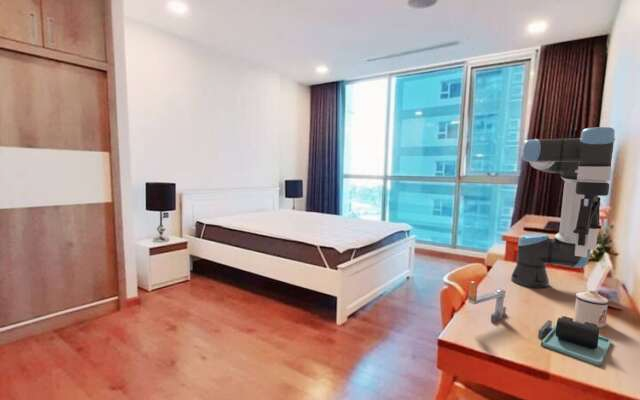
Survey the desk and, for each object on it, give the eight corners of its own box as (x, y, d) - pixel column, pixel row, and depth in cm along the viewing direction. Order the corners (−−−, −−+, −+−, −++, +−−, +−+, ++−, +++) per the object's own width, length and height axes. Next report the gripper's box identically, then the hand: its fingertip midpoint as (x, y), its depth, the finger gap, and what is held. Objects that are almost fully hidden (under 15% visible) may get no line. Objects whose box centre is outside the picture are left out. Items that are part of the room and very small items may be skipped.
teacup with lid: (605, 331, 111) (609, 297, 110) (571, 322, 117) (574, 290, 116) (607, 319, 120) (610, 288, 118) (575, 311, 126) (578, 281, 125)
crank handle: (507, 296, 118) (508, 276, 117) (474, 306, 109) (475, 284, 108) (498, 293, 121) (499, 273, 120) (465, 303, 112) (467, 281, 111)
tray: (557, 326, 113) (557, 323, 113) (611, 343, 103) (611, 339, 103) (540, 345, 101) (541, 341, 100) (600, 366, 90) (600, 362, 90)
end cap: (554, 341, 102) (556, 320, 102) (557, 333, 108) (559, 313, 107) (596, 354, 96) (599, 331, 95) (597, 344, 101) (600, 323, 100)
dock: (500, 312, 124) (502, 292, 123) (551, 328, 112) (553, 305, 111) (488, 320, 116) (490, 299, 116) (541, 338, 105) (543, 315, 104)
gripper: (585, 180, 108) (579, 244, 110) (566, 181, 91) (559, 256, 93) (615, 181, 102) (608, 248, 105) (602, 182, 86) (593, 262, 88)
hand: (585, 252), depth 99 cm, fingers open, 13 cm apart
